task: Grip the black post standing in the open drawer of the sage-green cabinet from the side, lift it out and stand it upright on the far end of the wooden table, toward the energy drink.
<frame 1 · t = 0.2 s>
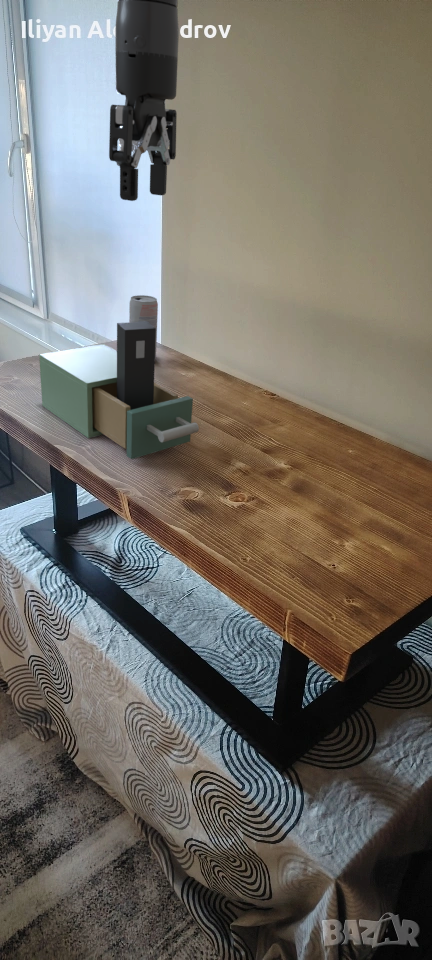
hand: (143, 197, 84), 32 cm above the table, tool pointing down, fingers open, 8 cm apart
drawer: (144, 417, 90), point 4 cm above the table, slide at 9.0 cm, touching black post
cabinet: (96, 413, 100), on the table
black post: (134, 426, 92), point 2 cm above the table, touching drawer
energy drink: (142, 360, 124), on the table
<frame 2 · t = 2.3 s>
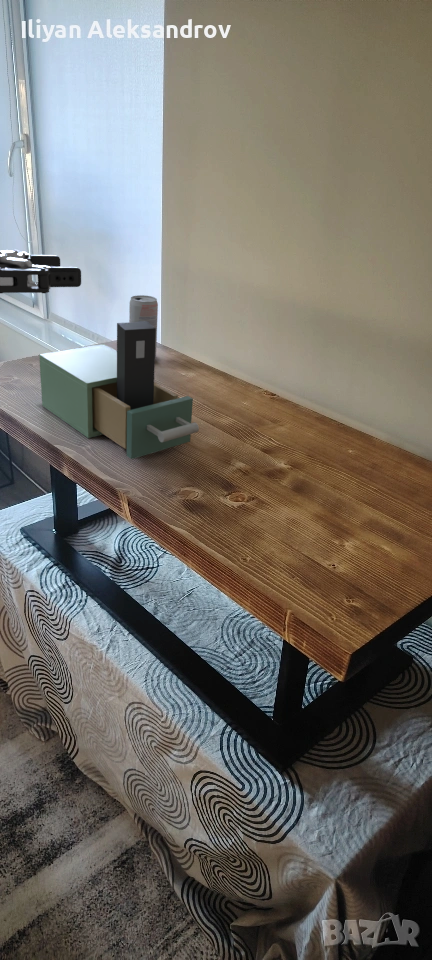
hand: (69, 270, 78), 24 cm above the table, tool horizontal, fingers open, 8 cm apart
nothing on the table moved.
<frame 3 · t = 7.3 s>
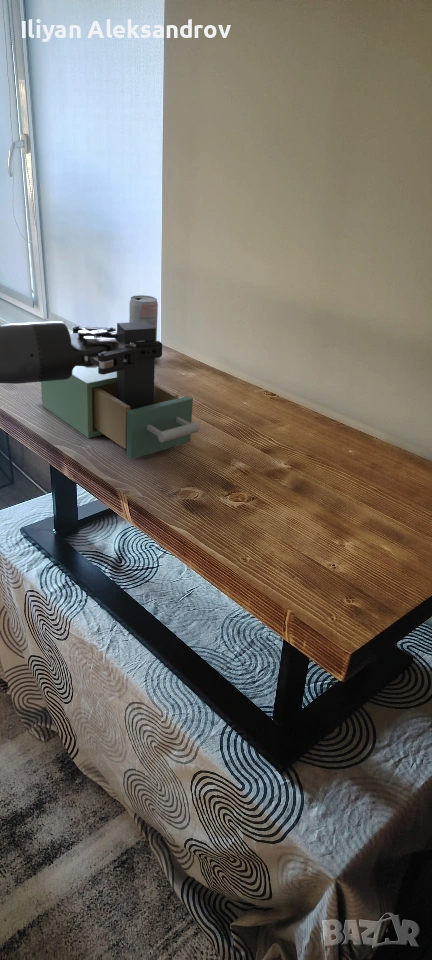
hand: (155, 344, 87), 14 cm above the table, tool horizontal, fingers closed on black post, 3 cm apart
black post: (134, 426, 92), point 2 cm above the table, touching drawer, gripper
everything else where it was.
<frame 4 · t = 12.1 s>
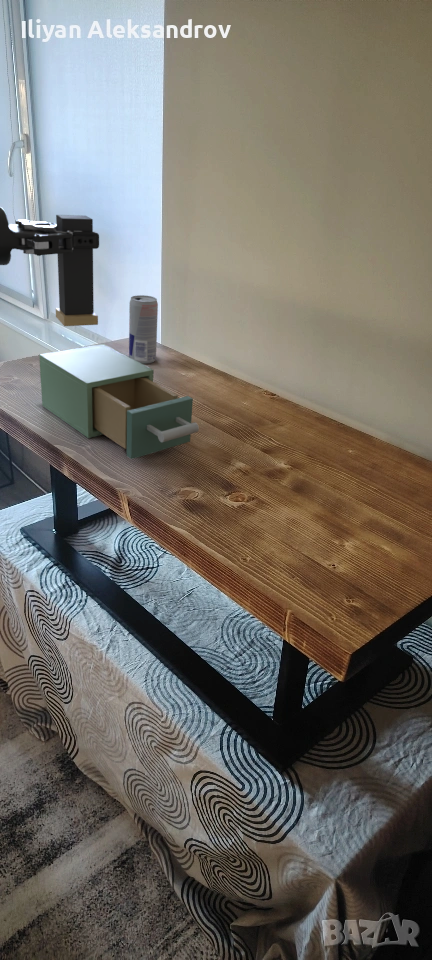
hand: (93, 237, 92), 26 cm above the table, tool horizontal, fingers closed on black post, 3 cm apart
drawer: (144, 417, 90), point 4 cm above the table, slide at 9.0 cm
black post: (76, 320, 97), point 13 cm above the table, touching gripper
everything else where it was.
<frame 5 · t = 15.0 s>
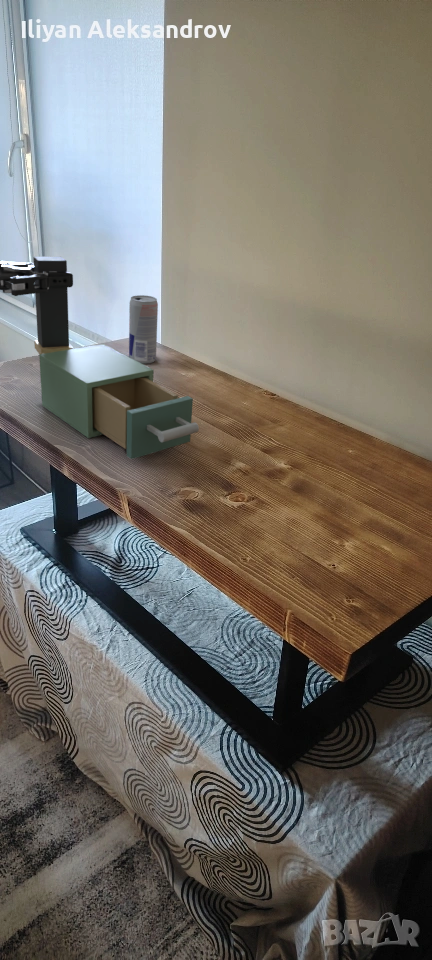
hand: (68, 276, 100), 19 cm above the table, tool horizontal, fingers closed on black post, 3 cm apart
black post: (53, 351, 105), point 6 cm above the table, touching gripper
everything else where it was.
when the fingers open (12 cm above the table, at t = 17.2 s): black post stays where it is, on the table.
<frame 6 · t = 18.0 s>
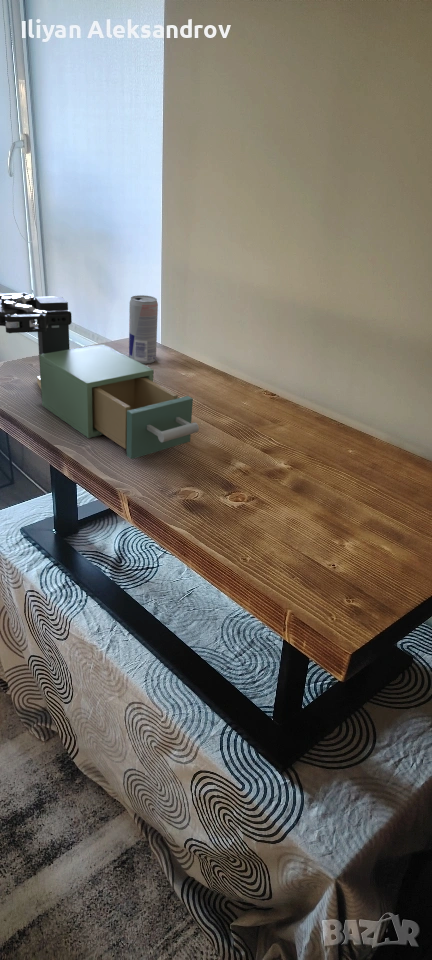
hand: (64, 310, 102), 13 cm above the table, tool horizontal, fingers open, 8 cm apart
black post: (55, 387, 108), on the table
everything else where it was.
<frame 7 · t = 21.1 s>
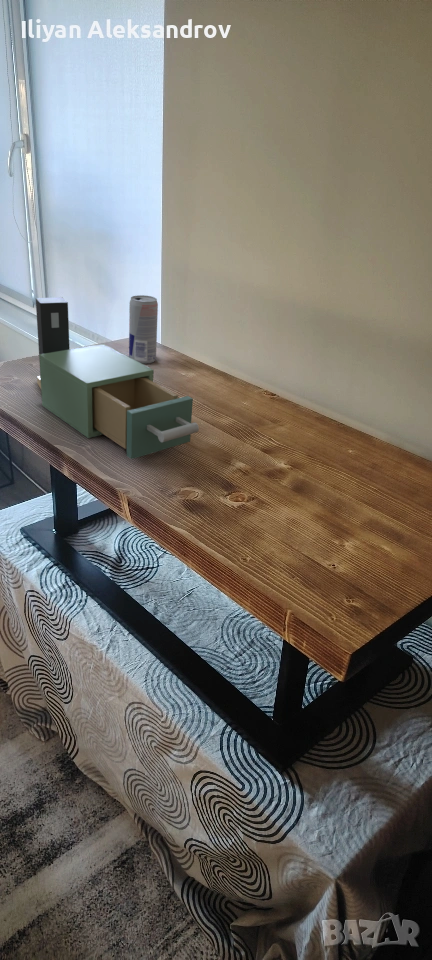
nothing on the table moved.
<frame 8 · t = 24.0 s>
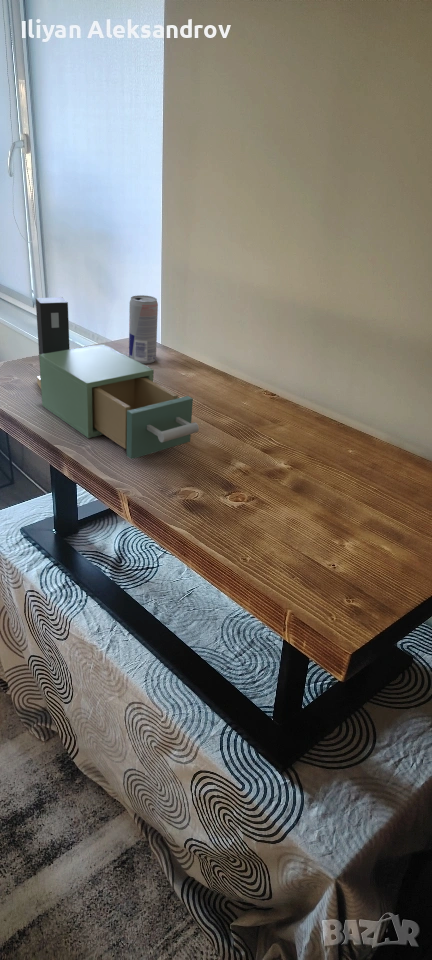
nothing on the table moved.
at the end: black post inside the target area (0.2 cm from its centre), on the table; black post tilted 0°; black post 22.3 cm from the energy drink (horizontally) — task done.
